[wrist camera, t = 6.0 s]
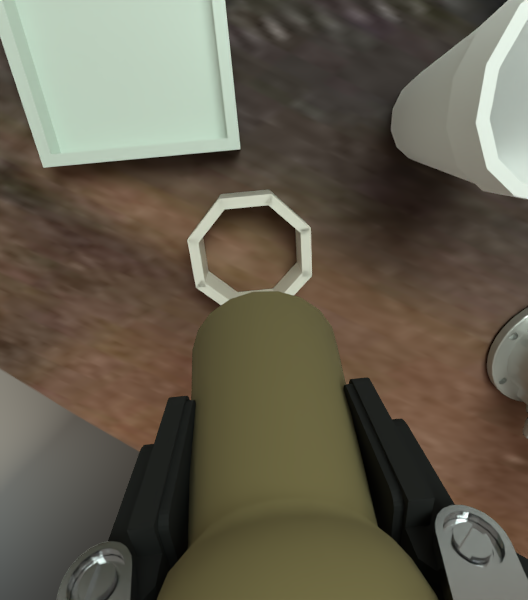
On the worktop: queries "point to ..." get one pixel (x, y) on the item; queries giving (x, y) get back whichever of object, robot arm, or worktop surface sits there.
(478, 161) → the foam cup
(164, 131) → the tray
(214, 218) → the collar
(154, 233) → the worktop surface
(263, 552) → the cork
